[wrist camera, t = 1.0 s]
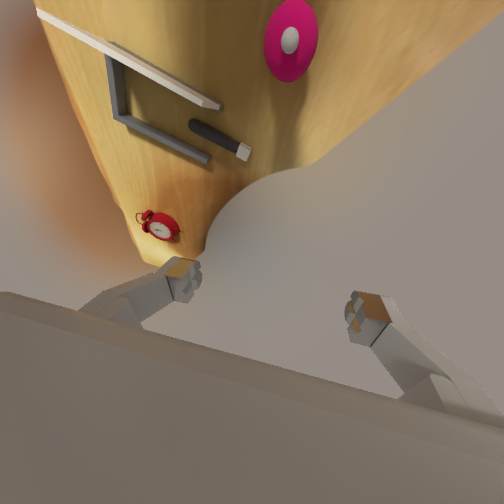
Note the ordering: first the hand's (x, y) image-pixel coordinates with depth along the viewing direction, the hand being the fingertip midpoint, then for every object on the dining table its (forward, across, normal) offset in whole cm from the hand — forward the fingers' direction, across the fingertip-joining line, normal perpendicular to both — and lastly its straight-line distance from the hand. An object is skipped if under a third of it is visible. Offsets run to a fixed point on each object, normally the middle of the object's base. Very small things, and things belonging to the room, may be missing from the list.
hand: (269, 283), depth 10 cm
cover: (+29, +26, -14) cm, 41 cm away
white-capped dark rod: (+40, +18, -5) cm, 44 cm away
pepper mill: (+39, +4, -18) cm, 43 cm away
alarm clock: (+44, +45, +22) cm, 67 cm away
